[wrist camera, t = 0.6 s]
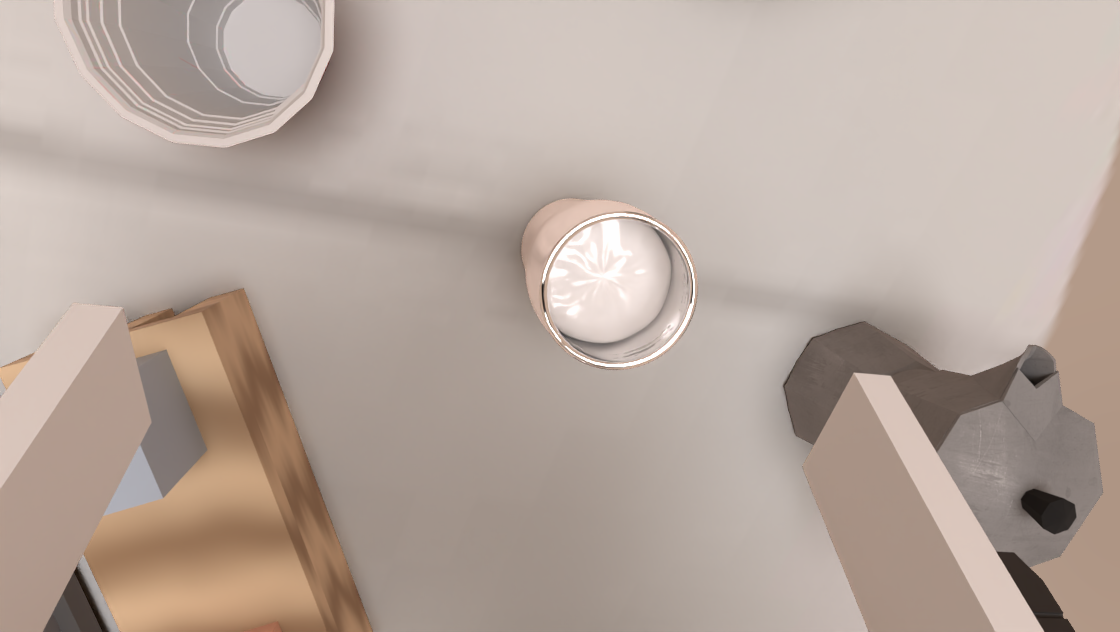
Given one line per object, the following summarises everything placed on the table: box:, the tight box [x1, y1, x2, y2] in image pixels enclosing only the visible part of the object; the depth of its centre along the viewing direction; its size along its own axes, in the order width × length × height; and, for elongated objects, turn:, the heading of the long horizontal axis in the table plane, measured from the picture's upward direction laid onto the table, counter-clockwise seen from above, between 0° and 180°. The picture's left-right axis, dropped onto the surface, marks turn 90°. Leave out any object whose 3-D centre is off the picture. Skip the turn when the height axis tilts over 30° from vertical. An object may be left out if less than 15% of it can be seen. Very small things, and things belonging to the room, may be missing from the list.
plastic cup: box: [53, 0, 334, 148], centre depth 34 cm, size 11×11×12 cm
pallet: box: [0, 288, 373, 632], centre depth 42 cm, size 24×10×7 cm, turn 15°
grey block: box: [103, 350, 207, 516], centre depth 34 cm, size 6×6×6 cm
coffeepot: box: [784, 322, 1103, 567], centre depth 40 cm, size 15×9×18 cm, turn 174°
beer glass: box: [521, 198, 698, 370], centre depth 37 cm, size 7×7×15 cm
